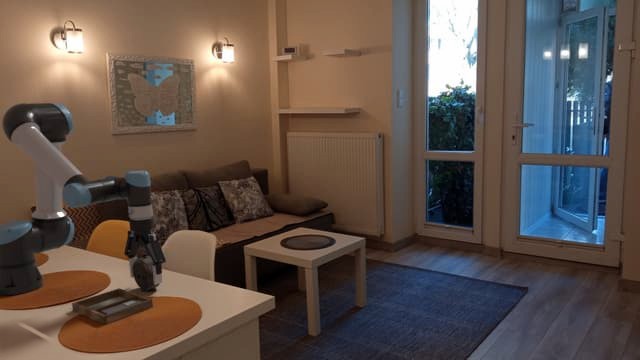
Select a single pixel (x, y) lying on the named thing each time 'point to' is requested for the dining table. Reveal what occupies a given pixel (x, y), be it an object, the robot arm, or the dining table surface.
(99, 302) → the organizer tray
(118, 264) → the dining table surface
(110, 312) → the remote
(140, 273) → the alarm clock
